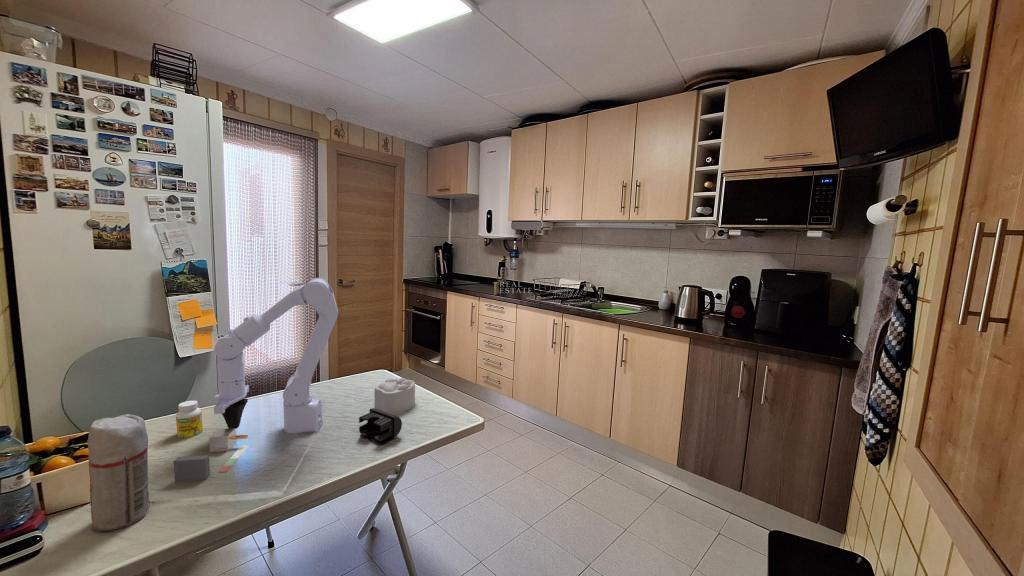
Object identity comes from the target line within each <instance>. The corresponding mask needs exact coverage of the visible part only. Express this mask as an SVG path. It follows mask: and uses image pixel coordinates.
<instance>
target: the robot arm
mask: <svg viewBox="0 0 1024 576" xmlns="http://www.w3.org/2000/svg"><path fill="white" fill-rule="evenodd" d="M307 303H308V304H309V305H311V306H312V307H313V308H314V309H315V311H316V313H317V315H318V316H319V317H318V319H317V320H316V323H315V325H314V328H313V330H312V333H311V335H310V337H309V340H308V342H307V344H306V347H305V349H304V350H303V354H302V356H301V359H300V361H299V363H298V366H297V367H296V370H295V372H294V373H293V374H292V375H291V376H290V377H289V378H288V380H287V382H286V386H285V389H283V393H282V398H283V401H282V403H283V404H282V405H283V428H284V429H283V430H284V432H285V433H288V434H300V433H306V432H309V433H310V432H315V433H314V435H313V436H314V437H315V436H317V434H318V432H319V430H320V428H321V427H322V425H323V423H324V422H323V405H322V400H321V399H316V398H313V396H312V395H311V393H310V390H311V386H312V379H313V377H314V373H315V371H316V369H317V366H318V364H319V361H320V359H321V357H322V355H323V352H324V349H325V348H326V345H327V343H328V340H329V338H330V336H331V333H332V331H333V328H334V327H335V323H336V321H337V319H338V316H339V309H338V305H337V301H336V298H335V293H334V290H333V288H332V286H330V284H329V283H328V281H327V280H326V279H324V278H320V277H314V278H311V279H310V280H309V281H308V282H307V283H303V284H302V285H300V286H298V287H296V288H295V289H293V290H291V291H290V292H289V293H287V294H286V295H285V296H284V297H282V298H281V299H279V301H278V302H276V303H275V304H274V305H273V306H271V307H270V308H268V310H266V311H265V312H263V313H262V314H252V315H251V316H250V315H247V316H245V318H243V322H242V323H240V324H238V325H237V326H236V327H235V328H230V329H229V330H228V331H227V334H225V335H224V336H222V338H220V339H219V340H218V341H217V342H216V344H215V345H214V349H213V350H214V351H213V352H214V354H215V355H216V357H217V376H218V378H217V379H218V394H216V395H214V397H213V398H214V400H217V401H216V403H215V405H214V406H213V414H214V415H219V414H220V415H222V417H223V419H224V421H225V425H226V427H227V429H232V428H235V430H236V429H238V428H239V427H240V425H241V421H242V416H243V413H244V409H245V407H246V405H247V403H248V401H249V400H248V398H246V397H247V393H249V392H250V385H249V384H246V378H245V377H246V376H245V375H246V373H245V372H246V371H245V370H246V369H245V360H244V359H245V358H244V350H245V349H246V347H250V346H251V345H252V344H254V343H255V342H256V341H257V340H259V339H260V338H261V337H263V336H264V335H266V333H268V332H269V331H270V329H271V323H273V322H274V321H276V320H277V319H278V318H280V317H281V316H283V315H284V314H285V313H287V312H288V311H290V310H291V309H292V308H294V307H296V306H305V305H306V304H307Z"/></svg>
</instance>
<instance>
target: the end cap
mask: <svg viewBox="0 0 1024 576" xmlns="http://www.w3.org/2000/svg"><path fill="white" fill-rule="evenodd" d="M365 421H366V423H364V424H362V425H360V426H358V431H359V434H360V435H359V437H360V438H362V439H363V440H367V441H369V442H371V443H373V444H376V445H378V446H380V447H381V446H384V445H387V444H389V443H391V442H392V441H393V440H395V438H396V437H397V436H398V435H399V434H400V432H401V431H402V426H403V422H402V418H400V417H399V416H397V415H395V414H393V415H391V414H389V413H386V412H383V411H380V410H377V409H375V407H371V408H369V412H368V413H366V414H364V415H361V416H359V418H358V423H359V424H361V423H362V422H365Z"/></svg>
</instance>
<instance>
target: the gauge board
mask: <svg viewBox="0 0 1024 576" xmlns="http://www.w3.org/2000/svg"><path fill="white" fill-rule="evenodd" d="M249 447H250V445H241V446H240V447H239V448H237V449H236V451H235V452H234V453H233V455H232V456H231V457H230V458H229V459H228V460H227V461H226V462H225V463H224V465H223V466H222V467H221V468H220V469H219V470H218V471H217V473H219V474H220V473H227V472H229V470H230V469H231V468H232V466H234V464H235V463H236V462H237V461H238V460H239V459H240V457H241V456H242V455H243V453H245V451H246V450H247V449H248V448H249ZM210 470H211V469H210V455H209V454H208V455H207V454H206V455H205V454H204V455H194V456H191V455H190V456H179V457H178V456H177V458H175V459H174V460H173V472H174V482H175V483H179V482H183V483H184V482H192V481H193V482H196V481H197V482H198V481H206V480H208V479H209V477H211V471H210Z"/></svg>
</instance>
